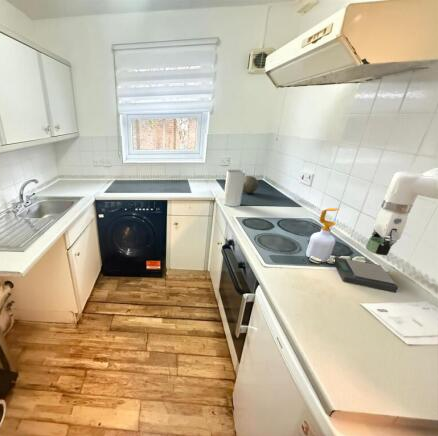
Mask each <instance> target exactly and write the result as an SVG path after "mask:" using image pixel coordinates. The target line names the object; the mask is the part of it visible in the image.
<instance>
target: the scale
mask: <svg viewBox="0 0 438 436" xmlns="http://www.w3.org/2000/svg"><path fill="white" fill-rule="evenodd" d="M334 259H335V263H334V262H333V264H334V266H335V268H336V271H337V273H338V275H339V276H340V279H341V280H342V282H343V283H348V284H352V285H357V286H360V287H361V286H362V287H366V288H371V289H376V290H381V291H386V292H389V293H395V294H396V293H397V292H398V289H399V286H398V285H397V284H396V282H395V281H394V280H393V279H392V278H391V276H390V275H389V273H387V271H386V270H385V269H384V267H383V266H382V265H381V264H377V263H371V262H366V261H359V260H356V259H355V260H354V259H349V258H343V257H338V256H334V257H333V260H334Z"/></svg>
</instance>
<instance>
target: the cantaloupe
mask: <svg viewBox="0 0 438 436" xmlns="http://www.w3.org/2000/svg"><path fill="white" fill-rule="evenodd" d="M258 187H259V181H258V179H257V178H256V177H255V176H252V175H249V176H245V178H244V185H243V191H242V193H245V194H248V195H249V194H253V193H254V192H256V190H257V189H258Z"/></svg>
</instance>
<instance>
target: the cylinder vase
mask: <svg viewBox="0 0 438 436" xmlns="http://www.w3.org/2000/svg"><path fill="white" fill-rule="evenodd" d="M245 177H246V171H245V170H242V169H227V170H226V177H225V185H224V192H223V199H222V204H223V205H224V206H227V207H233V208H234V207H239V206H241V203H242V198H243V185H244V178H245Z"/></svg>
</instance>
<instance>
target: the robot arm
mask: <svg viewBox="0 0 438 436" xmlns="http://www.w3.org/2000/svg"><path fill="white" fill-rule="evenodd" d="M418 196H420V197H426V198H430V199H435V200H438V167H434V168H431V169H430V170H426V171H425V172H423V173H420V172H415V171H405V170H404V171H403V170H402V171H398V172H395V173H394V175H393V176H392V179H391V181H390V184H389V186H388V188H387V191H386V193H385V196H384V198H383V200H382V203H381V206H380V211H379V213H378V214H377V216H376V219H375V221H374V222H373V223H374V224H373V227H372V228H373V231H372V233H371V236H370V238H371V237H377V238H382V241H381V244H379V246H378V248H377V250H376V254H375V255H378V254H380V255H379V256H387V255H389V253H390V251H391V249H390V248H392V247H393V245H395V244H396V243H397V242H398V241H399V240H400V239H401V237H402V235H403V233H404V230H405V227H406V224H407V221H408V216H409V214H410V212H411V210H412V208H413V206H414V203H415V202H416V199H417V197H418ZM385 240H388V241H386V242H385ZM389 250H390V251H389ZM388 252H389V253H388Z"/></svg>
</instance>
